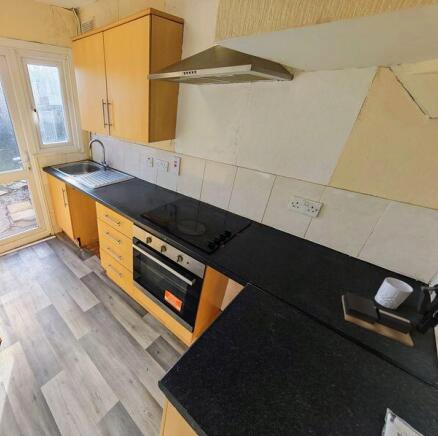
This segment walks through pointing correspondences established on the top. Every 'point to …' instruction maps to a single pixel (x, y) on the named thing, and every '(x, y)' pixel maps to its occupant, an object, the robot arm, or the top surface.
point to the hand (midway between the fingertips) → (419, 330)
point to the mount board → (381, 329)
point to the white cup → (393, 293)
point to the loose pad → (393, 320)
